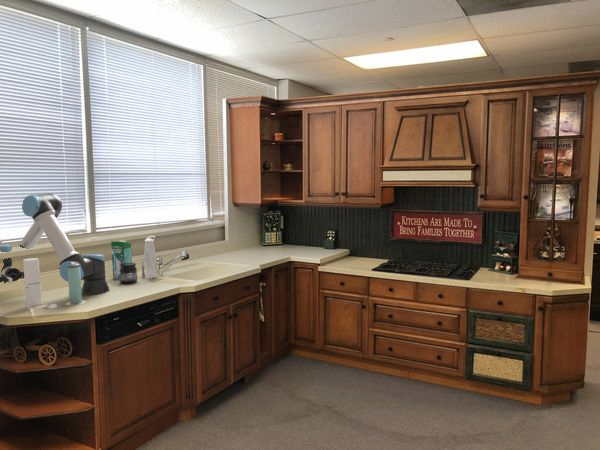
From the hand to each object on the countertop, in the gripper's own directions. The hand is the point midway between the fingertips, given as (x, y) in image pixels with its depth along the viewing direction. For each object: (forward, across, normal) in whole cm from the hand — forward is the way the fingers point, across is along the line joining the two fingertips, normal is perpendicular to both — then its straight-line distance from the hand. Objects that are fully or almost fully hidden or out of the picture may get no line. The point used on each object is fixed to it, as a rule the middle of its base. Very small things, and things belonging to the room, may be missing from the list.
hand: (25, 278), depth 262 cm
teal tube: (+25, -15, -12) cm, 31 cm away
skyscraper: (-9, -80, -14) cm, 81 cm away
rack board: (+23, -8, -14) cm, 28 cm away
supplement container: (-6, -62, -14) cm, 64 cm away
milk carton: (-24, -68, -14) cm, 74 cm away
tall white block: (+9, 0, -14) cm, 17 cm away
